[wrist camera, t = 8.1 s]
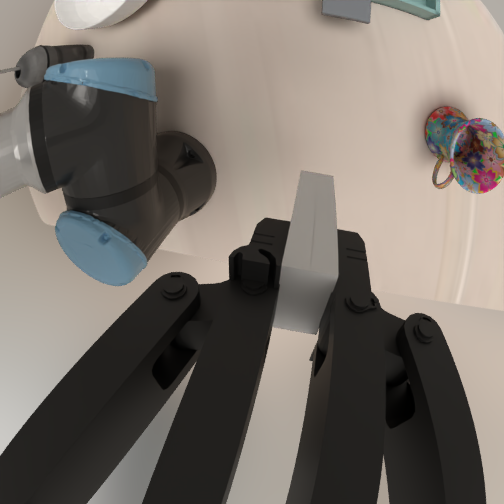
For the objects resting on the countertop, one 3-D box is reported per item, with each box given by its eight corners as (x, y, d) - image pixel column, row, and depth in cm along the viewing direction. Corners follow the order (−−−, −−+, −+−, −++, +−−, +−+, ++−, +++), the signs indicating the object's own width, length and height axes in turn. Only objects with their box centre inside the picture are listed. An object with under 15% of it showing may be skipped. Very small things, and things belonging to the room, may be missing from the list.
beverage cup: (70, 71, 33) (-16, 101, 18) (78, 37, 28) (-13, 57, 13) (94, 76, 33) (2, 107, 18) (103, 39, 29) (6, 57, 14)
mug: (447, 90, 24) (484, 102, 16) (480, 137, 26) (518, 163, 18) (397, 142, 32) (420, 168, 24) (433, 184, 34) (459, 221, 26)
